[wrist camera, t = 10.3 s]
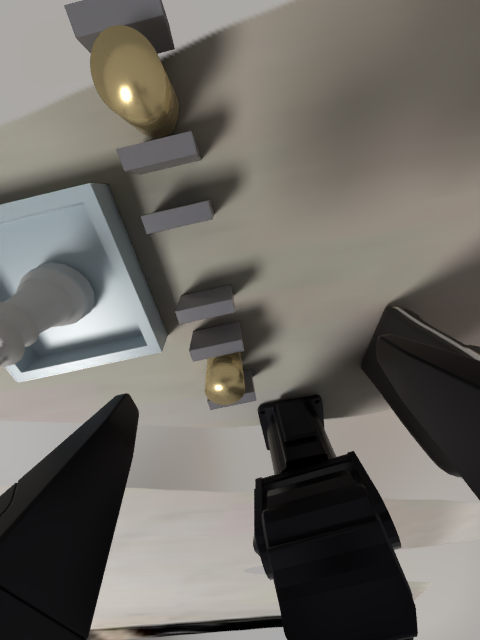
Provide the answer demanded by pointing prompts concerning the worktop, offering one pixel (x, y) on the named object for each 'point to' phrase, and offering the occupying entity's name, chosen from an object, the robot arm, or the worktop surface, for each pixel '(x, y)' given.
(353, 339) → the worktop surface
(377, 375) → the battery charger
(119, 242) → the tray
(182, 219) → the grey small pieces
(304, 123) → the worktop surface
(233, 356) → the brass peg
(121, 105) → the brass peg
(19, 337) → the rook chess piece
